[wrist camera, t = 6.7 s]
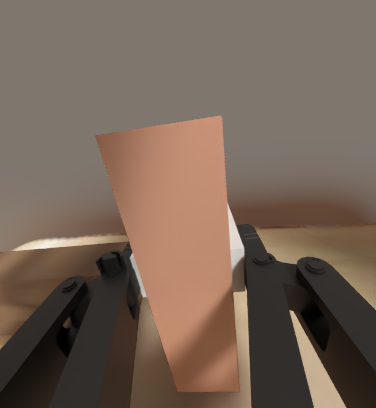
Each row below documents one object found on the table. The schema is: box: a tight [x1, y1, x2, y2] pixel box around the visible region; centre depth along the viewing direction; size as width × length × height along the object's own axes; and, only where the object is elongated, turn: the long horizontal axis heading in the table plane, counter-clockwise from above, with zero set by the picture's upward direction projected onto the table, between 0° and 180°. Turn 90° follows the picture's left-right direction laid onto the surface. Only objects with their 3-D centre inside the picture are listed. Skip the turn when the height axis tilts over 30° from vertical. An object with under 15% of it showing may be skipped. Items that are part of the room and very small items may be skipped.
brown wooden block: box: [0, 242, 143, 349], centre depth 19 cm, size 18×7×7 cm, turn 87°
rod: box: [95, 116, 240, 392], centre depth 11 cm, size 4×4×16 cm
